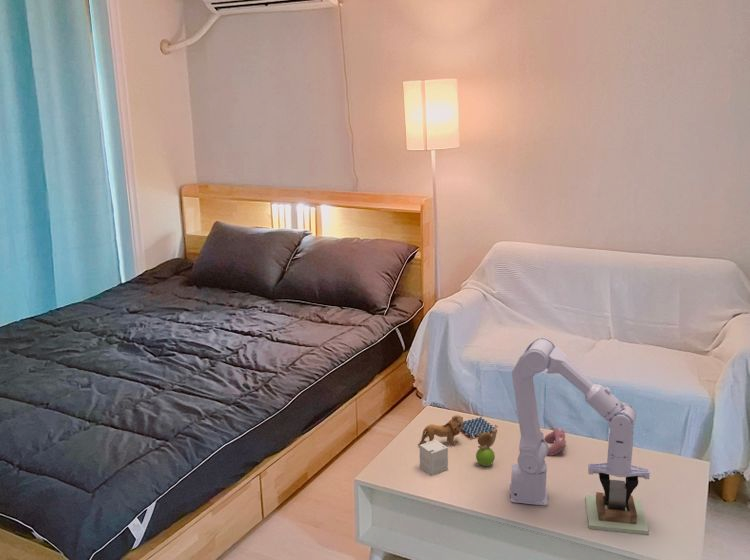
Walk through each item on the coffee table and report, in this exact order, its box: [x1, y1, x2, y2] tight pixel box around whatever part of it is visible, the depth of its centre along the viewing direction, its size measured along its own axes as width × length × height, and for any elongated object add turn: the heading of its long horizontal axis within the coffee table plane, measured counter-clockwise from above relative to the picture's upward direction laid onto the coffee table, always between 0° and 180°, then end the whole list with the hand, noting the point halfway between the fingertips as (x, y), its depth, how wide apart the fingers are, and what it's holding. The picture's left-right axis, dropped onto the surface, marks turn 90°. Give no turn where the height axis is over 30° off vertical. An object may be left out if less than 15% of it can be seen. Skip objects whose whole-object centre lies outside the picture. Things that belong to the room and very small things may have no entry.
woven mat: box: [460, 416, 496, 441], centre depth 228 cm, size 10×11×2 cm
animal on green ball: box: [475, 424, 498, 467], centre depth 205 cm, size 5×6×12 cm
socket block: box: [584, 491, 649, 536], centre depth 180 cm, size 14×14×4 cm
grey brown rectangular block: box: [607, 479, 627, 511], centre depth 180 cm, size 4×4×7 cm
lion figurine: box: [417, 414, 464, 447], centre depth 218 cm, size 15×5×9 cm, turn 103°
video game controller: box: [544, 428, 567, 456], centre depth 214 cm, size 10×5×7 cm, turn 169°
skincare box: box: [419, 439, 449, 476], centre depth 204 cm, size 6×6×7 cm
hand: (616, 500), depth 180 cm, fingers closed on grey brown rectangular block, 4 cm apart
